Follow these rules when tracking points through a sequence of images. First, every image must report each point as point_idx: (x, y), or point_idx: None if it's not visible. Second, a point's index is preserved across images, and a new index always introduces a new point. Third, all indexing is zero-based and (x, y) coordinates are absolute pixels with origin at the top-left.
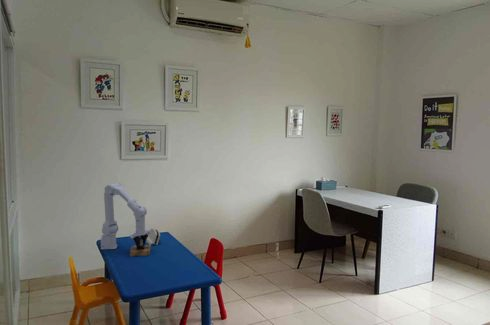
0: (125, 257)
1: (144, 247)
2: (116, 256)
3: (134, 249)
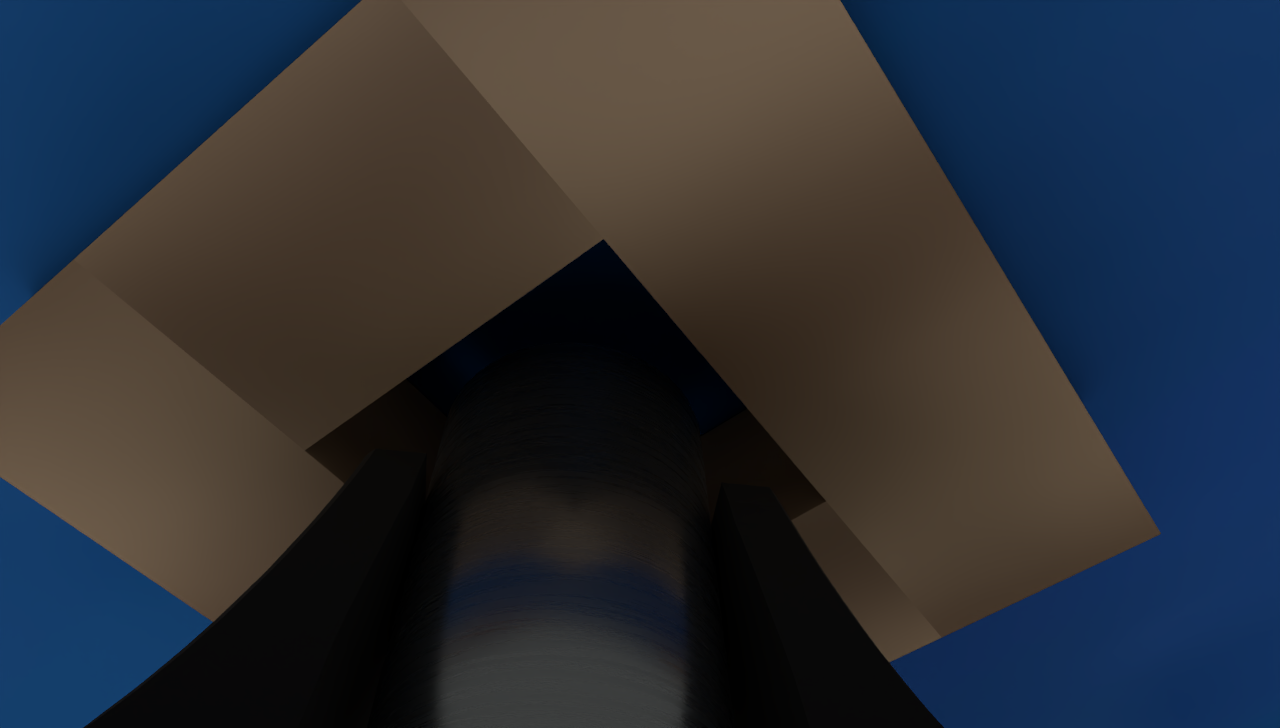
0: (1224, 444)
1: (324, 443)
2: (1195, 675)
3: (836, 558)
